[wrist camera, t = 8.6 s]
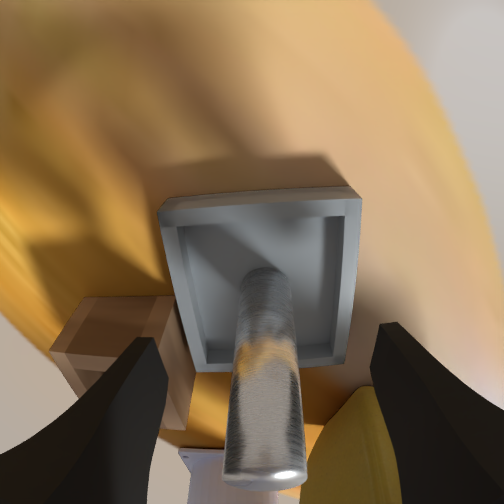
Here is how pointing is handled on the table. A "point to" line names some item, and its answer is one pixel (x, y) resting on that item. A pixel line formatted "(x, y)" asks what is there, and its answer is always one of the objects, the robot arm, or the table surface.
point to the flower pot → (353, 457)
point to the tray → (264, 265)
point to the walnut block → (119, 338)
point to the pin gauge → (265, 390)
